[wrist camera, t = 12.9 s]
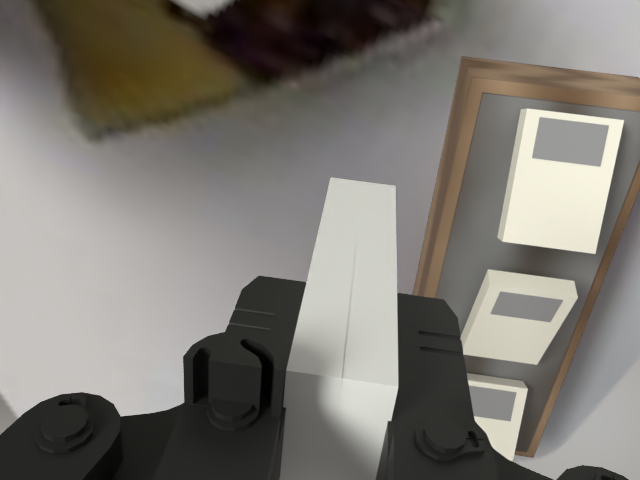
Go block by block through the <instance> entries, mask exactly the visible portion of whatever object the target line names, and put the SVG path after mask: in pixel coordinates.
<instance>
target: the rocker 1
mask: <svg viewBox="0 0 640 480" xmlns="http://www.w3.org/2000/svg"><path fill="white" fill-rule="evenodd" d="M467 378H468V384H469V390H470V396H471V402H472V408H473V414H474V419H475V422H476V423H477V424H478V425H479V426H480V427H481V428H482V429H483V430H484V431H485V433H486V434H487V436H488V439H489V441H490V443H491V446H492V447H493V448H494V450H496V451H497V452H499V453H500V454H501V455H503V456H504V457H505V458H507V459H508V460H510V461H512V462H513V458H514V454H515V449H516V444H517V439H518V434H519V429H520V425H521V420H522V415H523V410H524V405H525V401H526V396H527V391H528V388H527V387H526V385H525V383H524V382H523V381H519V380H512V379H505V378H498V377H491V376H484V375H477V374H470V373H467Z"/></svg>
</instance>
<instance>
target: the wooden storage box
mask: <svg viewBox="0 0 640 480" xmlns="http://www.w3.org/2000/svg"><path fill="white" fill-rule="evenodd" d="M526 108H528V109H536V110H544V111H553V112H561V113H569V114H577V115H585V116H594V117H602V118H610V119H618V120H624V124H623V128H622V133H621V138H620V142H619V147H618V151H617V156H616V161H615V165H614V170H613V175H612V179H611V184H610V188H609V193H608V198H607V202H606V207H605V212H604V216H603V221H602V225H601V230H600V235H599V239H598V244H597V249H596V253H595V254H592V253H584V252H577V251H569V250H562V249H554V248H547V247H539V246H531V245H524V244H516V243H509V242H502V241H501V240H500V239H498V238H497V237H498V231H499V226H500V220H501V215H502V209H503V204H504V198H505V193H506V187H507V182H508V177H509V171H510V166H511V160H512V155H513V149H514V144H515V138H516V133H517V127H518V122H519V116H520V111H521V109H526ZM639 189H640V79H639V78H638V77H631V76H623V75H614V74H606V73H597V72H589V71H580V70H572V69H564V68H555V67H547V66H538V65H530V64H521V63H513V62H504V61H496V60H488V59H479V58H471V57H462V59H461V64H460V69H459V74H458V79H457V83H456V88H455V93H454V98H453V103H452V107H451V112H450V117H449V122H448V127H447V131H446V136H445V141H444V146H443V151H442V156H441V160H440V165H439V170H438V175H437V180H436V184H435V189H434V194H433V199H432V204H431V208H430V213H429V218H428V223H427V228H426V232H425V237H424V242H423V247H422V252H421V257H420V261H419V266H418V271H417V276H416V281H415V285H414V290H413V295H416V296H423V297H430V298H437V299H444V300H445V301H446V303H447V304H448V305H449V307H450V308H451V309H452V311H453V312H454V313H455V315H456V316H457V317H458V323H459V329H460V335H461V334H462V332H463V329H464V327H465V325H466V322H467V320H468V317H469V315H470V312H471V310H472V307H473V305H474V302H475V300H476V298H477V295H478V293H479V290H480V288H481V285H482V283H483V280H484V278H485V275H486V273H487V271H488V269H490V270H497V271H505V272H512V273H519V274H527V275H534V276H542V277H549V278H557V279H564V280H571V281H574V282H575V286H576V291H577V296H578V298H577V300H576V302H575V303H574V305H573V307H572V308H571V310H570V312H569V313H568V315H567V317H566V318H565V320H564V321H563V323H562V325H561V326H560V328H559V330H558V331H557V333H556V335H555V336H554V338H553V339H552V341H551V343H550V344H549V346H548V348H547V349H546V351H545V353H544V354H543V356H542V358H541V359H540V361H539V362H538V364H537V365H534V364H527V363H520V362H513V361H506V360H499V359H492V358H485V357H478V356H471V355H464V354H463V357H464V359H465V365H466V372H467V373H470V374H477V375H484V376H491V377H498V378H505V379H512V380H519V381H523V382H524V383H525V385H526V387H527V388H528V391H527V396H526V401H525V405H524V410H523V415H522V420H521V425H520V429H519V434H518V439H517V444H516V449H515V454H514V455H519V456H526V457H534V454H535V452H536V449H537V447H538V444H539V442H540V439H541V437H542V434H543V431H544V429H545V426H546V424H547V421H548V419H549V416H550V414H551V411H552V409H553V406H554V404H555V401H556V399H557V396H558V394H559V391H560V389H561V386H562V384H563V381H564V378H565V376H566V373H567V371H568V368H569V366H570V363H571V361H572V358H573V356H574V353H575V351H576V348H577V346H578V343H579V341H580V338H581V336H582V333H583V331H584V328H585V325H586V323H587V320H588V318H589V315H590V313H591V310H592V308H593V305H594V303H595V300H596V298H597V295H598V293H599V290H600V288H601V285H602V283H603V280H604V278H605V275H606V272H607V270H608V267H609V265H610V262H611V260H612V257H613V255H614V252H615V250H616V247H617V245H618V242H619V240H620V237H621V235H622V232H623V230H624V227H625V225H626V222H627V220H628V217H629V214H630V212H631V209H632V207H633V204H634V202H635V199H636V197H637V194H638V192H639Z"/></svg>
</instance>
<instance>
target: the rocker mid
mask: <svg viewBox="0 0 640 480" xmlns="http://www.w3.org/2000/svg"><path fill="white" fill-rule="evenodd" d="M577 298H578V296H577V291H576V286H575V282H574V281H571V280H564V279H557V278H549V277H542V276H534V275H527V274H519V273H512V272H505V271H497V270H490V269H488V271H487V273H486V275H485V278H484V280H483V283H482V285H481V288H480V290H479V293H478V295H477V298H476V300H475V302H474V305H473V307H472V310H471V312H470V315H469V317H468V320H467V322H466V325H465V327H464V329H463V332H462V334H461V338H460V340H461V341H462V347H463V354H464V355H471V356H478V357H485V358H492V359H499V360H506V361H513V362H520V363H527V364H534V365H537V364H538V362H539V361H540V359H541V358H542V356H543V354H544V353H545V351H546V349H547V348H548V346H549V344H550V343H551V341H552V339H553V338H554V336H555V335H556V333H557V331H558V330H559V328H560V326H561V325H562V323H563V321H564V320H565V318H566V317H567V315H568V313H569V312H570V310H571V308H572V307H573V305H574V303H575V302H576V300H577Z"/></svg>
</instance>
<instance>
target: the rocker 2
mask: <svg viewBox="0 0 640 480" xmlns="http://www.w3.org/2000/svg"><path fill="white" fill-rule="evenodd" d="M623 124H624V120H618V119H610V118H602V117H594V116H585V115H577V114H569V113H561V112H553V111H544V110H536V109H528V108H526V109H521V111H520V116H519V122H518V127H517V133H516V138H515V144H514V149H513V155H512V160H511V166H510V171H509V177H508V182H507V187H506V193H505V198H504V204H503V209H502V215H501V220H500V226H499V231H498V237H497V238H498V239H500V240H501V241H502V242H509V243H516V244H524V245H531V246H539V247H547V248H554V249H562V250H569V251H577V252H584V253H592V254H595V253H596V249H597V244H598V239H599V235H600V230H601V225H602V221H603V216H604V212H605V207H606V202H607V198H608V193H609V188H610V184H611V179H612V175H613V170H614V165H615V161H616V156H617V151H618V147H619V142H620V138H621V133H622V128H623Z"/></svg>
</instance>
